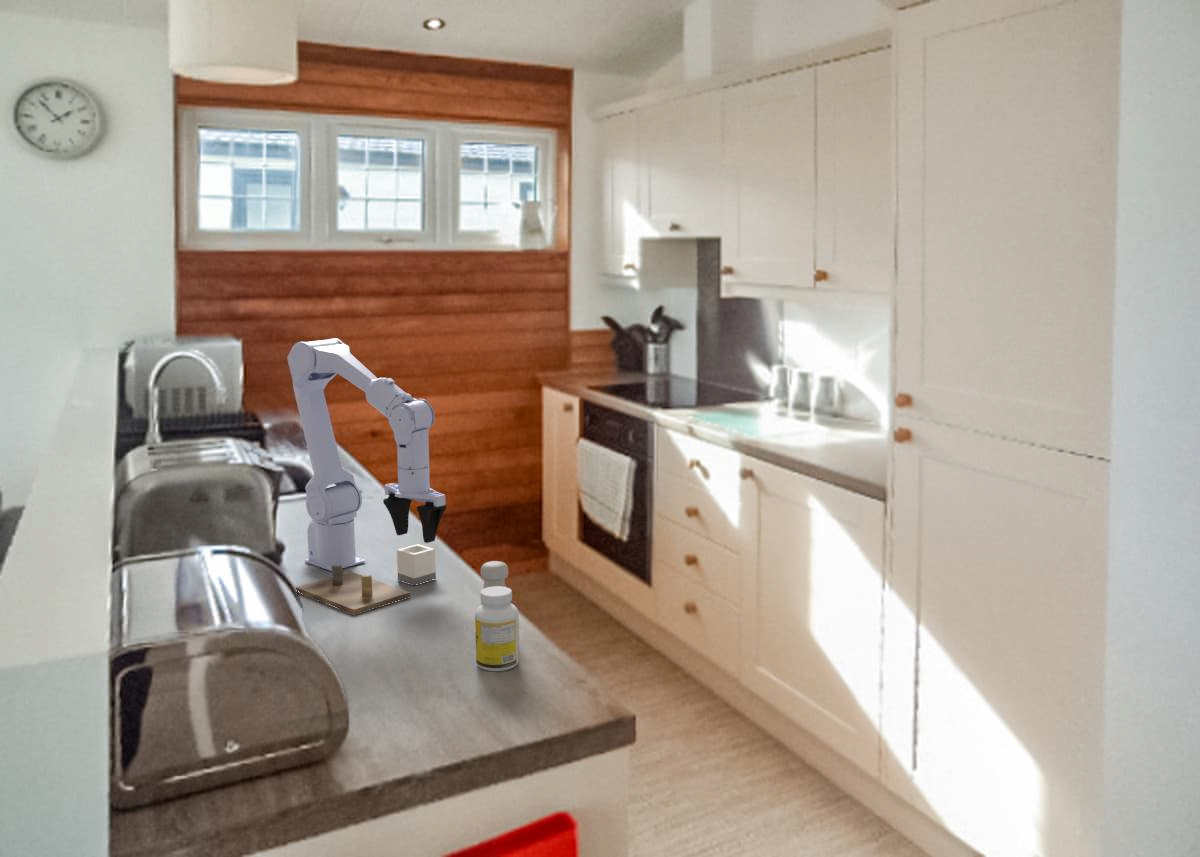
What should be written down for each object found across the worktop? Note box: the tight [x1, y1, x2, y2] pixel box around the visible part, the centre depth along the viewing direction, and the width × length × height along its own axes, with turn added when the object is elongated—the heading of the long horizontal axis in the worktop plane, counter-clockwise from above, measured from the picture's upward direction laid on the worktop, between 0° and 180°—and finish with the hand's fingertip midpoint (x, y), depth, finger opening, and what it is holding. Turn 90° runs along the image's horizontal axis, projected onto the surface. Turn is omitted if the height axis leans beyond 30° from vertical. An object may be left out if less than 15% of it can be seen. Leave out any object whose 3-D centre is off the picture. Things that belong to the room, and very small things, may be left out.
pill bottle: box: [474, 586, 520, 672], centre depth 161 cm, size 6×6×12 cm
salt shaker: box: [480, 560, 509, 605], centre depth 170 cm, size 6×6×13 cm
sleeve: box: [396, 543, 437, 585], centre depth 201 cm, size 5×5×6 cm
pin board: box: [295, 564, 411, 616], centre depth 193 cm, size 18×12×4 cm, turn 48°
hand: (415, 537), depth 199 cm, fingers open, 7 cm apart
